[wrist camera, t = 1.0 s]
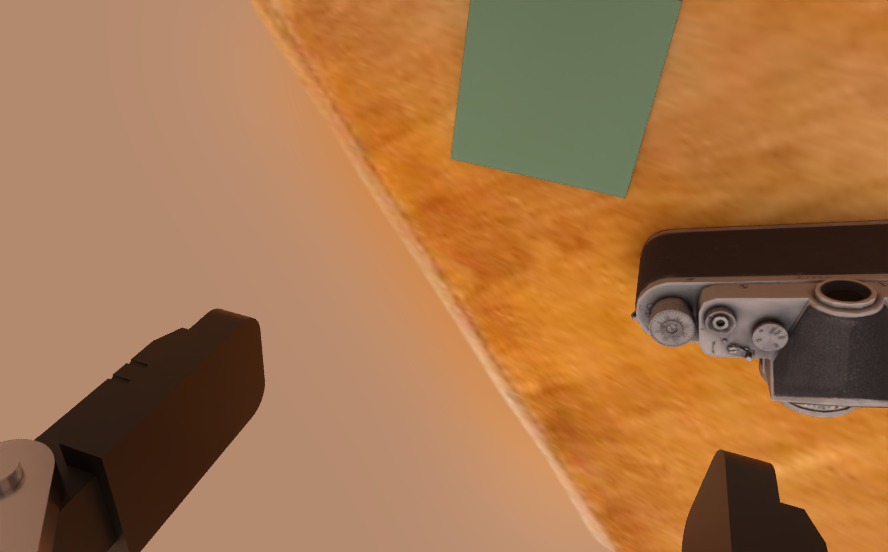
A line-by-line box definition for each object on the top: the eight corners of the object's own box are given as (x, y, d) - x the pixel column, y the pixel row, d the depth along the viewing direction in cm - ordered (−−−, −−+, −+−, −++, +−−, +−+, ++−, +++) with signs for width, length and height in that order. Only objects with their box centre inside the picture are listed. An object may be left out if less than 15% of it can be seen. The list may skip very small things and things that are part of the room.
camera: (639, 349, 39) (629, 465, 31) (633, 225, 36) (620, 320, 27) (943, 357, 34) (1029, 501, 26) (973, 213, 30) (1085, 326, 22)
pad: (476, -33, 32) (474, -33, 31) (682, 0, 30) (682, 1, 29) (452, 156, 37) (450, 158, 37) (625, 195, 35) (625, 198, 35)
